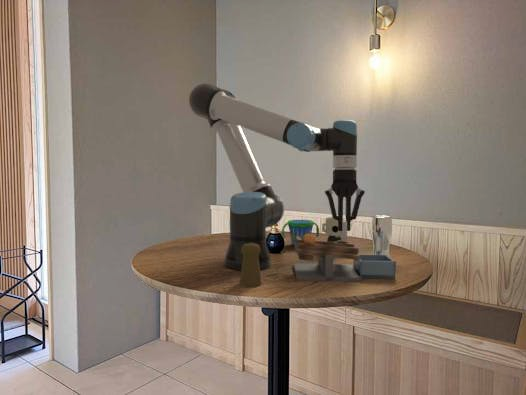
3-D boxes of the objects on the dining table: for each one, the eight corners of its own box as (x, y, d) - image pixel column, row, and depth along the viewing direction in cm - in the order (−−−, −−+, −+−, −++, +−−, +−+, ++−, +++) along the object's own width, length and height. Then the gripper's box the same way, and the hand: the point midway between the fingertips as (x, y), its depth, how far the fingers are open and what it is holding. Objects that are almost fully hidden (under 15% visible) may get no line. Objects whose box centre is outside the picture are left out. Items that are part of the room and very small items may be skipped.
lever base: (297, 280, 112) (297, 255, 111) (293, 266, 128) (294, 245, 127) (360, 281, 112) (361, 256, 111) (349, 267, 127) (350, 245, 127)
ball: (301, 246, 117) (304, 233, 117) (300, 243, 121) (303, 231, 121) (314, 249, 117) (317, 236, 117) (312, 247, 121) (316, 234, 121)
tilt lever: (296, 260, 113) (298, 241, 113) (292, 247, 133) (293, 230, 133) (358, 266, 113) (361, 247, 113) (345, 252, 133) (347, 235, 133)
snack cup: (283, 248, 158) (284, 222, 157) (279, 243, 168) (280, 219, 167) (322, 247, 159) (322, 222, 158) (315, 243, 170) (316, 219, 169)
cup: (359, 278, 115) (360, 261, 115) (353, 270, 124) (353, 254, 124) (395, 278, 115) (395, 261, 114) (385, 270, 124) (386, 254, 124)
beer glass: (392, 261, 137) (393, 218, 136) (371, 260, 139) (372, 217, 137) (389, 256, 144) (391, 216, 143) (370, 255, 145) (371, 215, 144)
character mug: (326, 254, 146) (327, 219, 145) (317, 251, 153) (317, 217, 152) (351, 252, 150) (352, 218, 149) (341, 249, 157) (342, 216, 156)
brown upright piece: (261, 280, 111) (261, 241, 110) (261, 286, 105) (262, 246, 104) (239, 280, 111) (240, 241, 110) (239, 286, 105) (239, 245, 104)
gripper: (326, 169, 125) (325, 243, 126) (367, 168, 124) (366, 242, 126) (323, 169, 132) (322, 239, 134) (362, 168, 132) (361, 238, 133)
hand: (344, 240), depth 130 cm, fingers closed
